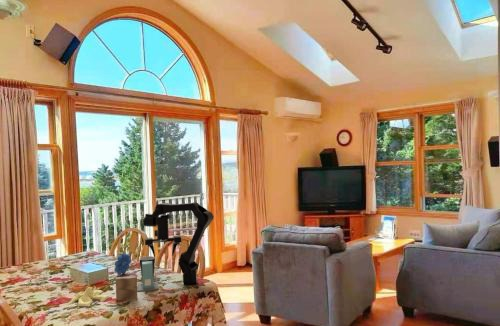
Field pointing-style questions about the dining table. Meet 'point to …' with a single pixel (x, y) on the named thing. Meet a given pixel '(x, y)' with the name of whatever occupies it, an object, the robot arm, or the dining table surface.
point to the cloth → (88, 297)
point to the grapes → (122, 263)
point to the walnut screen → (126, 288)
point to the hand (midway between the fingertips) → (163, 256)
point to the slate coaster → (140, 288)
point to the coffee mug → (148, 258)
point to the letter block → (147, 274)
